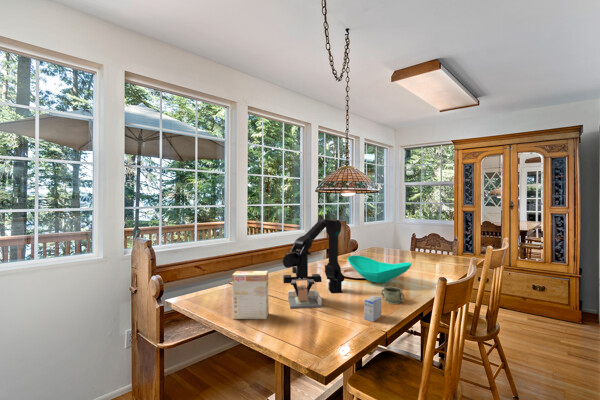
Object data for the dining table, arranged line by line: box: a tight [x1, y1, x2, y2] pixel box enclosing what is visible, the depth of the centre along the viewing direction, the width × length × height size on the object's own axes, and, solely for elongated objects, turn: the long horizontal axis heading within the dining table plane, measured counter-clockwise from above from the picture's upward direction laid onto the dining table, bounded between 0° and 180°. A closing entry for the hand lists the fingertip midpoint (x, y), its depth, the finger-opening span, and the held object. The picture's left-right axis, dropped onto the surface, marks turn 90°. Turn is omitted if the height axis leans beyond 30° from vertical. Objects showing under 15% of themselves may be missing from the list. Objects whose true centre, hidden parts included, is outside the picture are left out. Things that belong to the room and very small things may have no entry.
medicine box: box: [363, 295, 382, 323], centre depth 135 cm, size 8×4×9 cm, turn 141°
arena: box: [287, 289, 323, 310], centre depth 153 cm, size 15×14×4 cm
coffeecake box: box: [231, 270, 270, 320], centre depth 137 cm, size 15×7×20 cm, turn 88°
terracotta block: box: [297, 284, 308, 301], centre depth 154 cm, size 8×4×5 cm, turn 5°
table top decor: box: [347, 255, 412, 284], centre depth 190 cm, size 40×28×13 cm
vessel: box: [381, 286, 405, 305], centre depth 155 cm, size 12×9×6 cm
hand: (302, 295), depth 154 cm, fingers closed on terracotta block, 4 cm apart
